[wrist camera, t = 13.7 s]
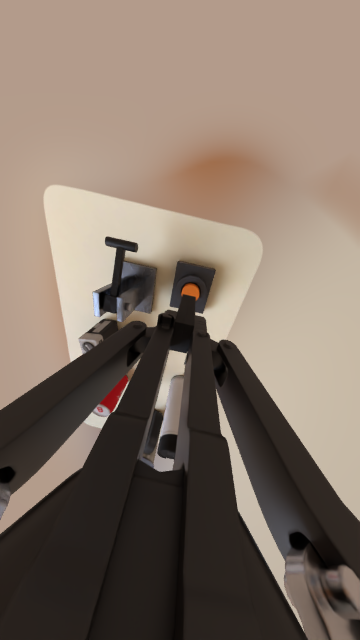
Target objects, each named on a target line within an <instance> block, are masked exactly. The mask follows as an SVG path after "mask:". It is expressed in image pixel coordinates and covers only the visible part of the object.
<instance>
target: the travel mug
mask: <svg viewBox="0 0 360 640" xmlns="http://www.w3.org/2000/svg"><path fill="white" fill-rule="evenodd" d="M183 381H184V376H175V377H173V378H172V379H171V383H170V388H169V393H168V398H167V403H166V409H165V414H164V419H163V424H162V429H161V436H160V441H159V447H158V452H157V453H158V455H159V456H160V457H162V458H170V459H174V460H175V454H176V445H177V436H178V427H179V418H180V408H181V399H182V390H183Z"/></svg>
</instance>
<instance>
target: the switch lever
mask: <svg viewBox="0 0 360 640" xmlns="http://www.w3.org/2000/svg"><path fill="white" fill-rule="evenodd" d="M105 244H106V245H107V246H109V247H114V248H117V250H116V257H115V265H114V272H113V279H112V287H111V294H110V295H105V298H104V306H103V311H106V312H111V313H117V297H118V296H119V291H120V285H121V278H122V271H123V264H124V257H125V251H126V250H127V251H132V252H137V250H138V244H137V243H134V242H130V241H125V240H121V239H116V238H112V237H106V238H105Z"/></svg>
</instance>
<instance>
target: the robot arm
mask: <svg viewBox="0 0 360 640" xmlns="http://www.w3.org/2000/svg"><path fill="white" fill-rule="evenodd" d="M195 303H196V297H194V296H190V295H185V294H183V295H182V299H181V302H180V306H179V309H178V312H176V311H172V310H167V311H165V313H161V314H159V315H158V322H157V326H156V327H147V326H146V324H145V323H144V322H141V321H132V322H130V323H129V324H127V325H126V326H124V327H123V328H121V329H120V330H118V331H117V332H115V333H114V334H112V335H111V336H109V337H108V338H106V339H105V340H103V341H102V342H101V343H99V344H98V345H96V346H95V347H93V348H92V349H90V350H89V351H87V352H86V353H84V354H83V355H81V356H80V357H78V358H77V359H75V360H74V361H72V362H71V363H69V364H68V365H67V366H65V367H64V368H62V369H61V370H59V371H58V372H56V373H55V374H53V375H52V376H50V377H49V378H47V379H46V380H44V381H43V382H41V383H40V384H38V385H37V386H35V387H34V388H33V389H31V390H30V391H28V392H27V393H25V394H24V395H22V396H21V397H19V398H18V399H16V400H15V401H13V402H12V403H11V404H9V405H7V406H6V407H4V408H3V409H2V410H0V520H1V517H2V515H3V513H4V511H5V509H6V507H7V505H8V503H9V499H10V496H11V495H12V494H13V493H14V492H15V491H17V490H18V489H19V488H20V487H21V486H22V485H23V484H25V483H26V482H27V481H28V480H29V479H30V478H31V477H32V476H33V475H34V474H35V473H36V472H37V471H38V470H39V469H40V468H41V467H42V466H43V465H44V464H45V463H46V462H47V461H48V460H49V459H50V458H51V457H52V456H53V455H54V453H55V452H56V451H57V450H58V449H59V448H60V447H61V446H62V445H63V444H64V442H65V441H66V440H67V439H68V438H69V437H70V436H71V435H72V434H73V432H74V431H75V430H76V429H77V428H78V427H79V426H80V424H82V422H83V421H84V420H85V419H86V418H87V417H88V416H89V415H90V414H91V412H92V411H93V410H94V409H95V408H96V407H97V406H98V405H99V404H100V403H101V401H102V400H103V399H104V398H105V397H106V396H107V395H108V394H109V393H110V391H111V390H112V389H113V388H114V387H115V386H116V385H117V384H118V383H119V381H120V380H121V379H122V378H123V377H124V376H125V375H126V374H127V373H128V371H129V370H130V369H131V368H132V367H133V366H134V365H135V364H136V363H137V361H138V360H139V359H140V358H141V359H140V361H139V363H138V365H137V368H136V370H135V372H134V374H133V376H132V378H131V380H130V382H129V384H128V386H127V388H126V390H125V393H124V395H123V397H122V399H121V401H120V403H119V405H118V407H117V409H116V410H115V412H112V413H111V414H110V415H109V417H108V418H107V420H106V422H105V424H104V426H103V428H102V430H101V432H100V434H99V436H98V438H97V440H96V442H95V444H94V446H93V448H92V450H91V452H90V454H89V456H88V458H87V460H86V462H85V463H84V466H83V468H81V469H79V470H78V471H76V472H75V473H74V474H72V475H71V476H70V477H68V478H67V479H66V480H65V481H64V482H62V483H61V484H60V485H59V486H57V487H56V488H55V489H54V490H53V491H52V492H50V493H49V494H48V495H47V496H45V497H44V498H43V499H42V500H41V501H39V502H38V503H37V504H36V505H35V506H34V507H32V508H31V509H30V510H29V511H28V512H26V513H25V514H24V515H23V516H22V517H20V518H19V519H18V520H17V521H16V522H14V523H13V524H12V525H11V526H10V527H8V528H7V529H6V530H5V531H4V532H2V533H1V534H0V640H360V521H359V520H358V519H357V518H356V517H355V516H354V515H353V514H352V512H351V511H350V510H349V509H348V508H347V507H346V506H345V505H344V503H343V502H342V501H341V500H340V498H339V497H338V495H337V494H336V492H335V491H334V489H333V488H332V486H331V485H330V483H329V482H328V480H327V479H326V478H325V476H324V475H323V473H322V472H321V470H320V469H319V467H318V466H317V464H316V463H315V461H314V460H313V458H312V457H311V455H310V454H309V452H308V451H307V450H306V448H305V447H304V445H303V444H302V442H301V441H300V439H299V438H298V436H297V435H296V433H295V432H294V430H293V429H292V428H291V426H290V425H289V423H288V422H287V420H286V419H285V417H284V416H283V414H282V413H281V411H280V410H279V408H278V407H277V406H276V404H275V402H274V401H273V400H272V398H271V397H270V395H269V394H268V392H267V391H266V389H265V388H264V386H263V385H262V383H261V382H260V380H259V379H258V378H257V376H256V374H255V373H254V372H253V370H252V369H251V367H250V366H249V364H248V363H247V362H246V360H245V358H244V357H243V355H242V354H241V352H240V351H239V349H238V348H237V347H236V345H235V344H234V343H232V342H231V341H228V340H221V341H220V342H219V343H218V342H215V341H213V340H212V339H210V335H209V334H208V333H207V327H206V320H205V318H204V317H201V316H196V315H195ZM169 350H174V351H178V352H183V353H187V356H186V359H185V363H184V364H185V372H184V381H183V390H182V399H181V408H180V418H179V427H178V436H177V445H176V454H175V460H174V465H173V470H172V471H165V472H159V471H157V470H155V469H154V468H152V467H151V466H149V465H147V464H146V463H144V462H143V461H141V460H142V456H143V451H144V447H145V443H146V439H147V436H148V432H149V428H150V424H151V420H152V416H153V412H154V408H155V405H156V401H157V397H158V393H159V389H160V385H161V381H162V377H163V373H164V370H165V366H166V362H167V358H168V354H169ZM187 351H188V352H187ZM216 389H217V392H218V395H219V398H220V400H221V403H222V406H223V408H224V411H225V414H226V416H227V419H228V422H229V425H230V427H231V430H232V433H233V435H234V438H235V441H236V444H237V446H238V449H239V451H240V454H241V457H242V460H243V462H244V465H245V468H246V471H247V473H248V476H249V479H250V481H251V484H252V487H253V490H254V492H255V495H256V497H257V500H258V503H259V505H260V508H261V511H262V513H263V515H264V518H265V520H266V523H267V525H268V527H269V530H270V531H271V534H272V536H273V538H274V540H275V542H276V544H277V546H278V548H279V550H280V552H281V554H282V556H283V558H284V559H285V575H284V585H285V588H286V592H287V595H288V597H289V599H290V601H291V603H292V605H293V606H294V607H295V608H296V609H297V611H298V614H299V617H300V619H301V622H302V624H303V628H304V631H305V633H304V631H303V629H302V627H301V626H300V624H299V622H298V620H297V618H296V616H295V614H294V613H293V611H292V609H291V607H290V605H289V604H288V602H287V600H286V598H285V596H284V594H283V592H282V591H281V589H280V587H279V585H278V583H277V581H276V579H275V577H274V576H273V574H272V572H271V570H270V569H269V566H268V565H267V563H266V561H265V559H264V557H263V555H262V553H261V552H260V550H259V548H258V546H257V544H256V543H255V541H254V539H253V537H252V535H251V533H250V531H249V529H248V528H247V526H246V524H245V522H244V520H243V518H242V517H241V515H240V513H239V512H238V509H237V502H236V495H235V488H234V481H233V475H232V467H231V461H230V453H229V447H228V443H227V440H226V438H225V437H223V436H222V434H221V430H220V422H219V414H218V405H217V395H216Z"/></svg>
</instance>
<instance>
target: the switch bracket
mask: <svg viewBox="0 0 360 640" xmlns="http://www.w3.org/2000/svg"><path fill="white" fill-rule="evenodd" d="M156 271H157V268H153V267H149V266H144V265H140V264H136V263H131V262H127V261H124V264H123V271H122V278H121V285H120V291H119V296H118V297H117V321H120V322H123V321H124V320H125V319H126V318H127V317H128V316H129V315H130V314H131V313H132V312H133V310H137V311H141V312H146V313H151V312H152V304H153V296H154V288H155V279H156ZM111 287H112V283H111V284H109V285H106V286H104V287H102V288H100V289H98V290H96V291H94V292H93V301H94V314H95V316H98V317H101V316H102V315H103V314H105V313H106V311H103V306H104V298H105V295H110V294H111Z"/></svg>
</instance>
